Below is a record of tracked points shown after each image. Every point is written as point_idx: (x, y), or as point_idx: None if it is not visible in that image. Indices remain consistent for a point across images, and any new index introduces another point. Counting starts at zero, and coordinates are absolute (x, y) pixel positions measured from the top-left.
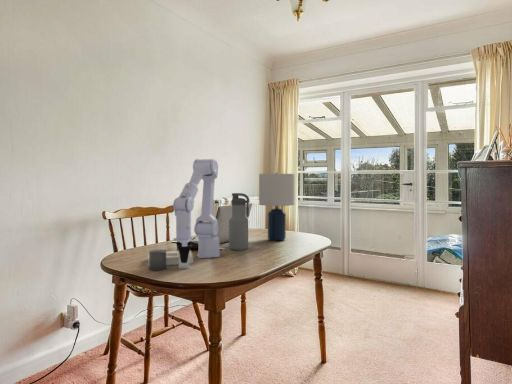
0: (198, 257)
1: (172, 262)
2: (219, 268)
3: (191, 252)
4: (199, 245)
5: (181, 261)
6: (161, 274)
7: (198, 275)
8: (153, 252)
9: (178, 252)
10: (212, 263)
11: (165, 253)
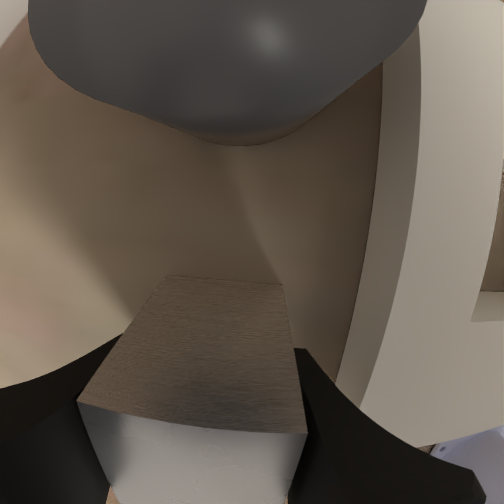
0: None
1: (376, 238)
2: None
3: (479, 431)
4: (497, 489)
5: (115, 338)
6: (36, 108)
7: (2, 359)
8: None
9: (139, 390)
10: None
11: (119, 107)
